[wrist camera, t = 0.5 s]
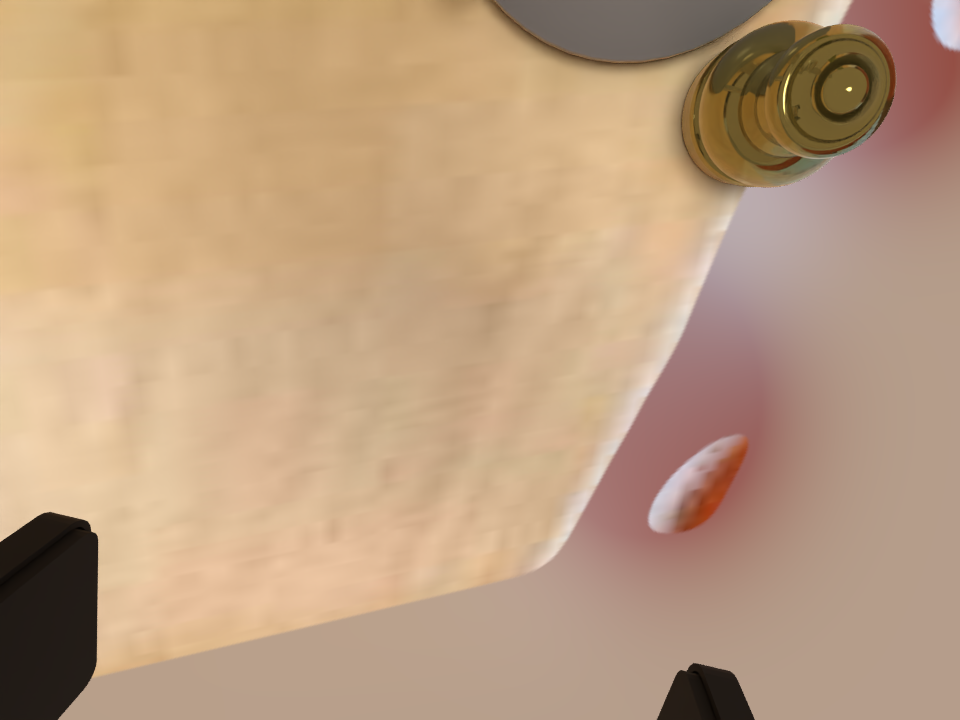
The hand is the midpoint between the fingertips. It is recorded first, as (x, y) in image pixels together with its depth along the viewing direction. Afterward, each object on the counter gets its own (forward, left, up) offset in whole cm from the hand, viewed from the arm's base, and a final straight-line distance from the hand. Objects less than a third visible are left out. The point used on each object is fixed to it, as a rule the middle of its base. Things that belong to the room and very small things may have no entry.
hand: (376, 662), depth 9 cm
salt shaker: (-10, +15, -28) cm, 33 cm away
